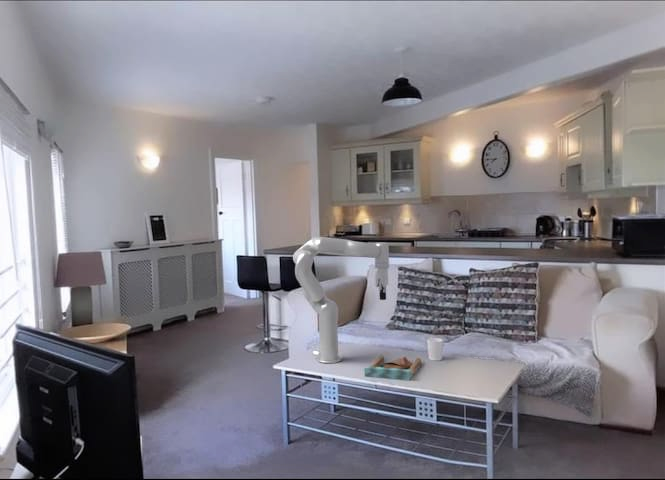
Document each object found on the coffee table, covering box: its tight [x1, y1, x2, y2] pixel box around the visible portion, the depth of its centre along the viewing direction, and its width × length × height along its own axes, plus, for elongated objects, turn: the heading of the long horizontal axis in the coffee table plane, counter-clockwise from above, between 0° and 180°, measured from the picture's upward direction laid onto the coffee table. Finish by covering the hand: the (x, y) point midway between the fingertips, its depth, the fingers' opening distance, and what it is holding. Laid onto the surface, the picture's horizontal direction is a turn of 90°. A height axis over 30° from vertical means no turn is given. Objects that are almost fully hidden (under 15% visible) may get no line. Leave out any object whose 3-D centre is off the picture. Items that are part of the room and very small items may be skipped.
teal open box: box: [363, 354, 422, 381], centre depth 236 cm, size 21×27×4 cm
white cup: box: [426, 337, 444, 362], centre depth 251 cm, size 8×8×10 cm
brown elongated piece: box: [380, 357, 414, 370], centre depth 238 cm, size 18×7×7 cm
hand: (382, 299), depth 264 cm, fingers closed
